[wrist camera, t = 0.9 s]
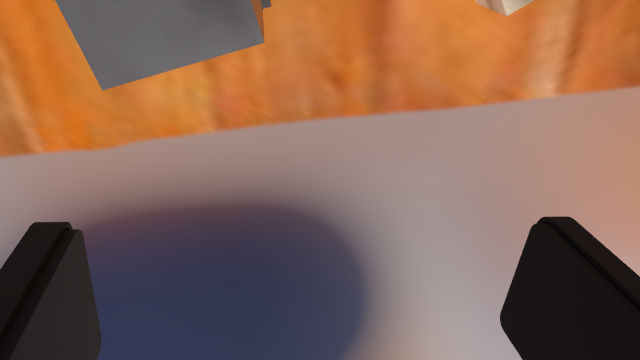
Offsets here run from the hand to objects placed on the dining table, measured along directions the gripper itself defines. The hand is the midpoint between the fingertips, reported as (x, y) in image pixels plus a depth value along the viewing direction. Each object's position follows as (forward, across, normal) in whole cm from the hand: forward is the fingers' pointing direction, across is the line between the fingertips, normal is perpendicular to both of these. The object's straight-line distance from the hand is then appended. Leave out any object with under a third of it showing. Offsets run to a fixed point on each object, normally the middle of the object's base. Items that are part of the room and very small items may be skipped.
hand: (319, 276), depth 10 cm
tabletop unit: (+28, +5, -4) cm, 29 cm away
